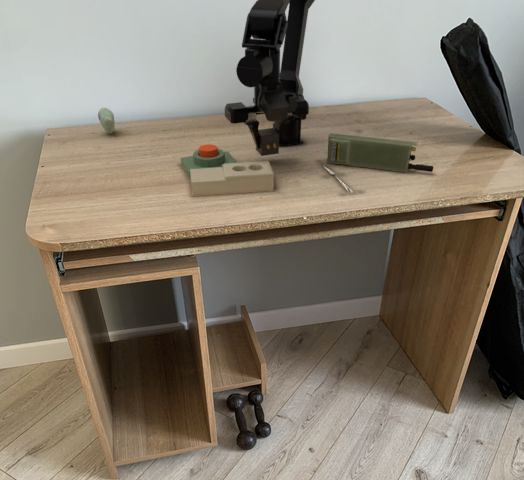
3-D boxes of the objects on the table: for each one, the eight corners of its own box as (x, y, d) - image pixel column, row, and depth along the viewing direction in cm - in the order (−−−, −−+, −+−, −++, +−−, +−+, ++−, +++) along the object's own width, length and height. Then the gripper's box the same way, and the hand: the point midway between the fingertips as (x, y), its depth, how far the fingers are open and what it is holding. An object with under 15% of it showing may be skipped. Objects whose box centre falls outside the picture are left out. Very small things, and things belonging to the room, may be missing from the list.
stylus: (327, 157, 124) (360, 188, 111) (327, 161, 125) (359, 192, 111) (311, 159, 124) (342, 191, 110) (311, 163, 124) (342, 195, 111)
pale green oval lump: (117, 137, 138) (112, 111, 133) (102, 139, 137) (96, 113, 133) (116, 128, 144) (111, 102, 139) (101, 129, 143) (96, 104, 139)
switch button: (215, 150, 122) (214, 143, 121) (220, 157, 119) (219, 149, 118) (197, 153, 121) (196, 145, 120) (202, 159, 118) (201, 152, 117)
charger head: (272, 147, 124) (272, 127, 121) (280, 155, 120) (281, 135, 117) (255, 149, 123) (255, 130, 120) (263, 158, 119) (263, 137, 116)
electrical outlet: (189, 165, 113) (269, 160, 115) (191, 182, 116) (269, 177, 118) (190, 178, 108) (274, 172, 110) (192, 196, 111) (273, 190, 112)
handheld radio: (329, 158, 126) (432, 171, 119) (325, 164, 123) (431, 177, 117) (331, 131, 121) (438, 142, 115) (327, 136, 119) (437, 148, 112)
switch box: (228, 157, 127) (227, 143, 124) (239, 171, 120) (238, 156, 118) (181, 164, 124) (179, 150, 121) (189, 178, 117) (188, 164, 115)
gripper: (236, 89, 103) (239, 165, 113) (320, 80, 107) (316, 154, 118) (222, 75, 111) (226, 147, 121) (300, 68, 115) (298, 138, 126)
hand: (267, 147), depth 121 cm, fingers closed on charger head, 4 cm apart
